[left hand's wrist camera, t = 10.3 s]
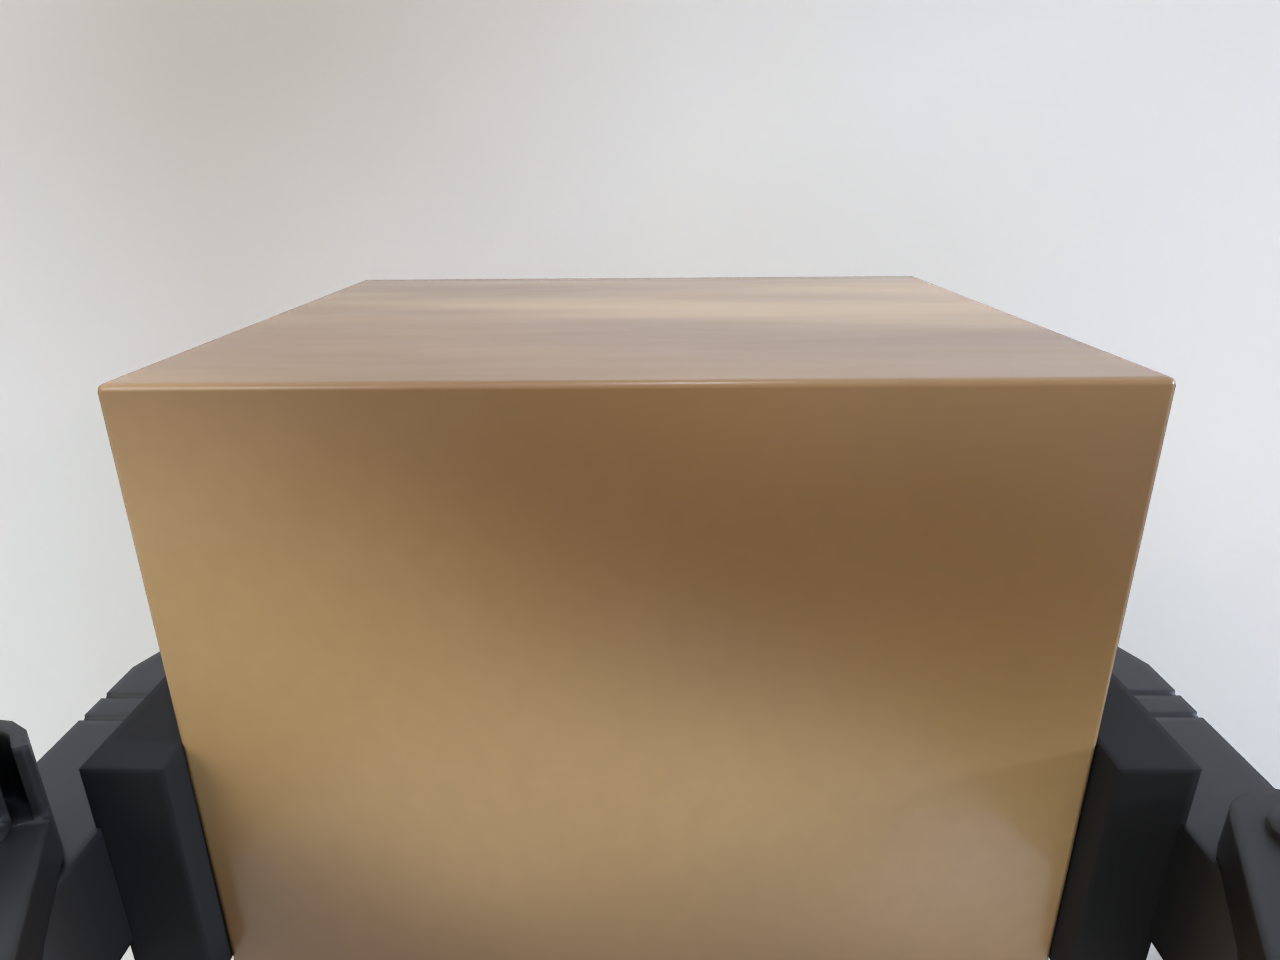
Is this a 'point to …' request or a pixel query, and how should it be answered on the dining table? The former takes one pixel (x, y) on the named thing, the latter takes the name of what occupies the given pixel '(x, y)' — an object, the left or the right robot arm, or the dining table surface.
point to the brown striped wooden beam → (639, 614)
